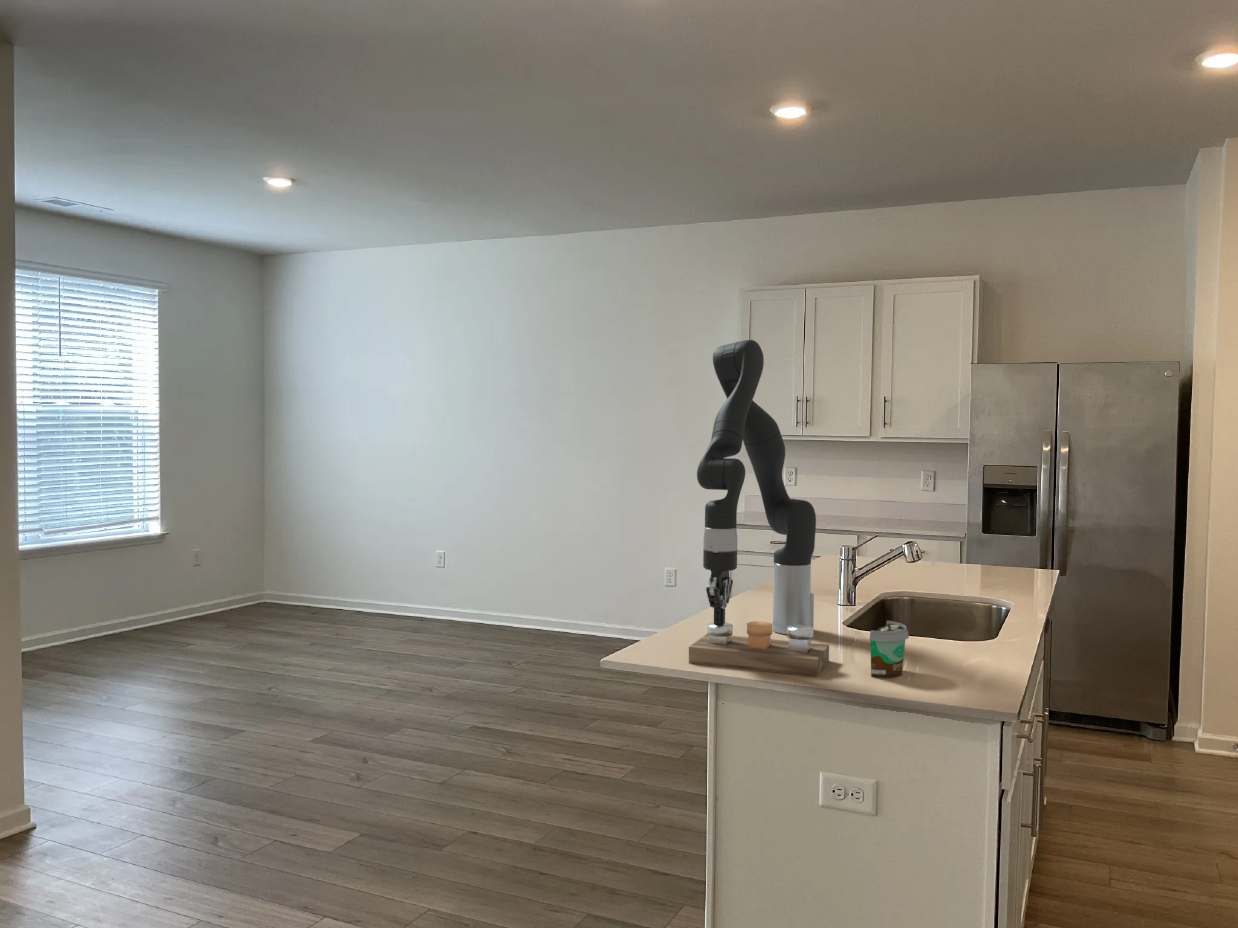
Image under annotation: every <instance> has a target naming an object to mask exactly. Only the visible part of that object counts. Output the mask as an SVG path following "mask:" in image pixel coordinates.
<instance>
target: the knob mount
mask: <svg viewBox="0 0 1238 928" xmlns="http://www.w3.org/2000/svg"><path fill="white" fill-rule="evenodd" d="M829 662H830V644H827V643H825V644H824V643H816V642H811V650H810V651H809V652H808V653H803V652H792V651H789V640H782V639H773V638H772V639H771V642H770V646H769V647H768V648H767V649H762V648H751V647H748V636H743V635H742V636H740V635H739V636H738V635H731V642H730V643H729V644H728V645H721V644H710V643H709V635H708V633H706V634H704V635H703V636H702V637H701V638H699V639H698V640H697V641H695V642H693V643H692V644H690V645H689V646H688V664H694V665H695V664H696V665H704V666H713V667H721V668H722V667H723V668H731V669H732V668H734V669H741V670H751V671H752V670H753V671H759V672H760V671H761V672H769V673H772V672H773V673H781V674H789V675H799V676H807V677H808V676H809V677H818V675H819V674H820V673H821V671H822V670H823V669H824V667H826V665H828V663H829Z"/></svg>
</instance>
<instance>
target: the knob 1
mask: <svg viewBox="0 0 1238 928" xmlns="http://www.w3.org/2000/svg"><path fill="white" fill-rule="evenodd" d="M733 626H734V625H733V624H732V623H729V622H725V624H724V625H722V626H719V625H714V621H712V622H709V623H708V624H707V631H706V632H707V633H706V634H708V635H709V643H710V644H721V645H728V644H729V643H730V642H731V636H734V635H733V634H734V632H733V631H734V629H733V628H734V627H733Z"/></svg>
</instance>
